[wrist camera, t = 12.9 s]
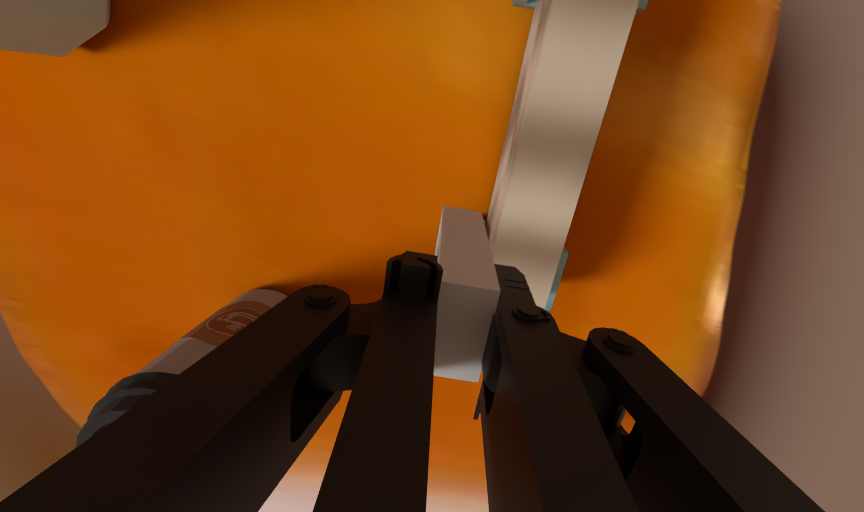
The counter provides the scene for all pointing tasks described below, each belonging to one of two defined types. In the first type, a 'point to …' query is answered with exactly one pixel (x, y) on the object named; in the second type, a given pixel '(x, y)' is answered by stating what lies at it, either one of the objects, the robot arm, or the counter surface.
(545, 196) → the slat
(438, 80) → the counter surface
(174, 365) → the coffee cup
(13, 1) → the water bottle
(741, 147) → the counter surface
